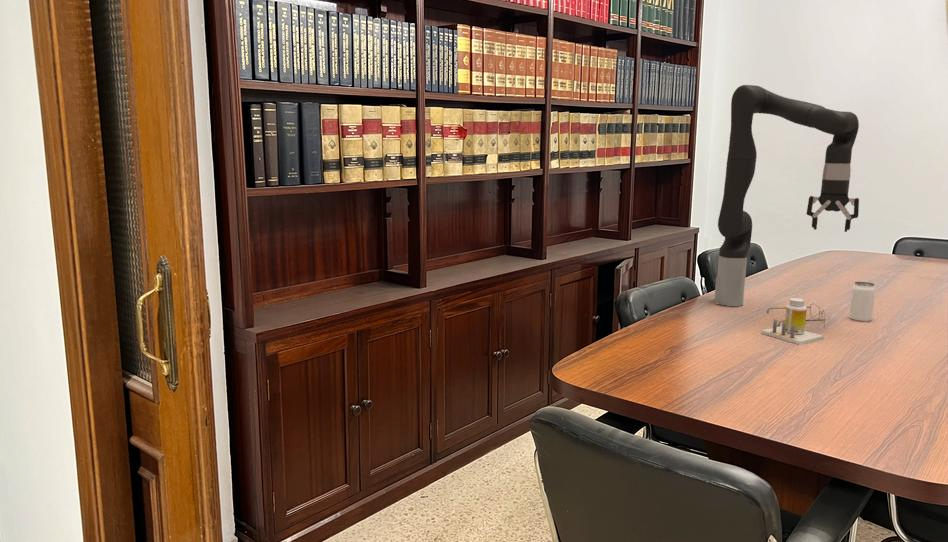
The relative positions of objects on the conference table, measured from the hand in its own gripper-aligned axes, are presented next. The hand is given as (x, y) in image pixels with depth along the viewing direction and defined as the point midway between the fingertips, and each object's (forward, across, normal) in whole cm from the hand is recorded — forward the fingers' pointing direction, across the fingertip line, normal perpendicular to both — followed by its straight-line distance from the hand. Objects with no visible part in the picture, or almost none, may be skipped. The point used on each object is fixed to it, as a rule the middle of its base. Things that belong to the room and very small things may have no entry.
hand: (830, 230), depth 214 cm
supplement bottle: (+29, -6, -19) cm, 35 cm away
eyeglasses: (+31, -7, 0) cm, 32 cm away
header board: (+30, -6, -19) cm, 36 cm away
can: (+30, +11, +12) cm, 34 cm away
